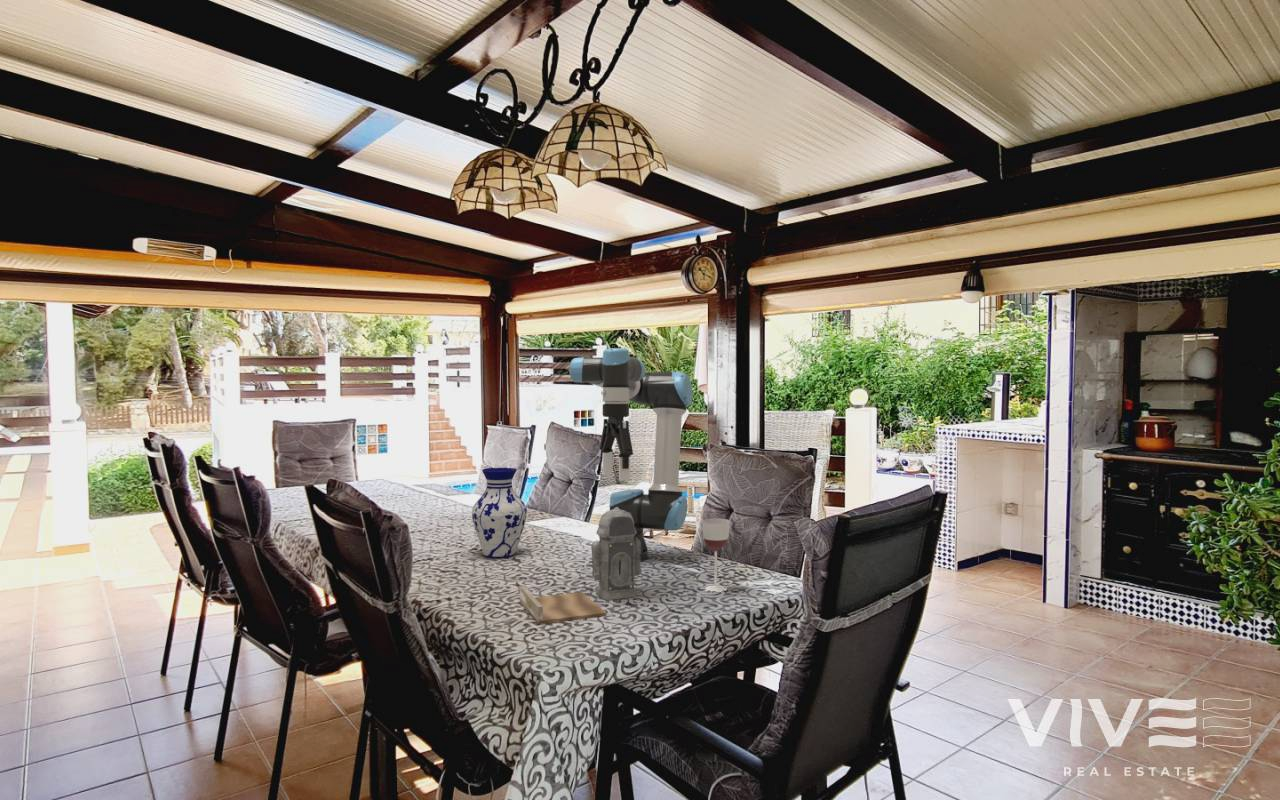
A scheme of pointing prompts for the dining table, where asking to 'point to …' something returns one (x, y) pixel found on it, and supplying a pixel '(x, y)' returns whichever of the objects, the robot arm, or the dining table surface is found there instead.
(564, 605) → the shelf board
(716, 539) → the wineglass
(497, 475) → the vase
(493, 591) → the dining table surface
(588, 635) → the dining table surface
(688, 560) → the dining table surface
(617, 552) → the figurine
